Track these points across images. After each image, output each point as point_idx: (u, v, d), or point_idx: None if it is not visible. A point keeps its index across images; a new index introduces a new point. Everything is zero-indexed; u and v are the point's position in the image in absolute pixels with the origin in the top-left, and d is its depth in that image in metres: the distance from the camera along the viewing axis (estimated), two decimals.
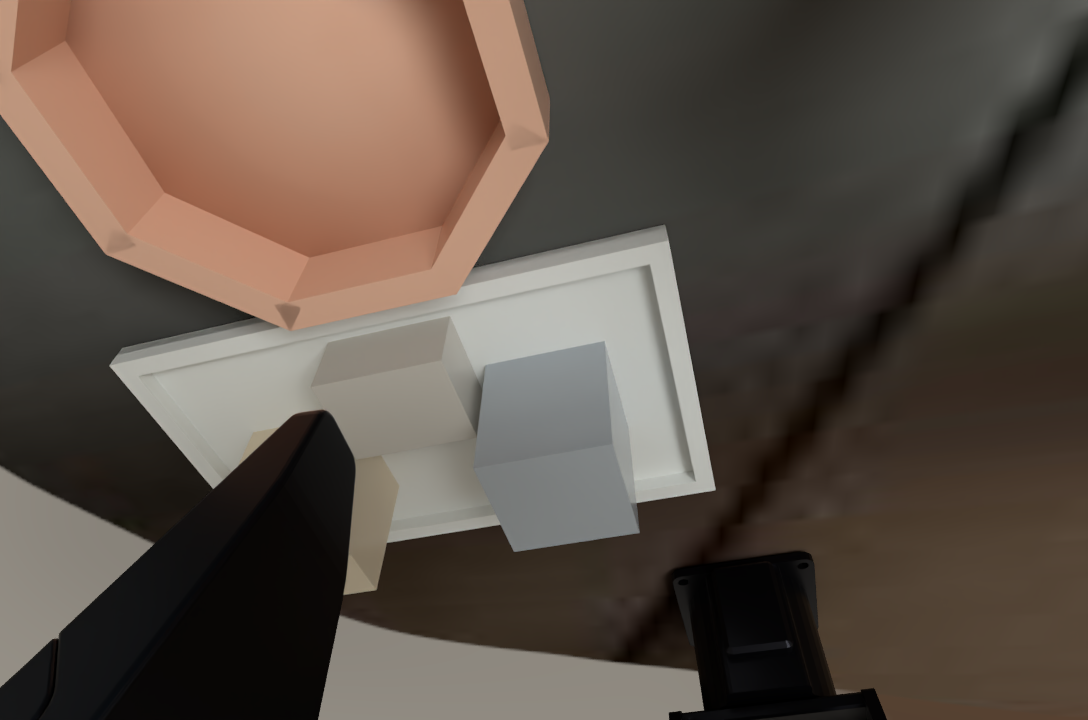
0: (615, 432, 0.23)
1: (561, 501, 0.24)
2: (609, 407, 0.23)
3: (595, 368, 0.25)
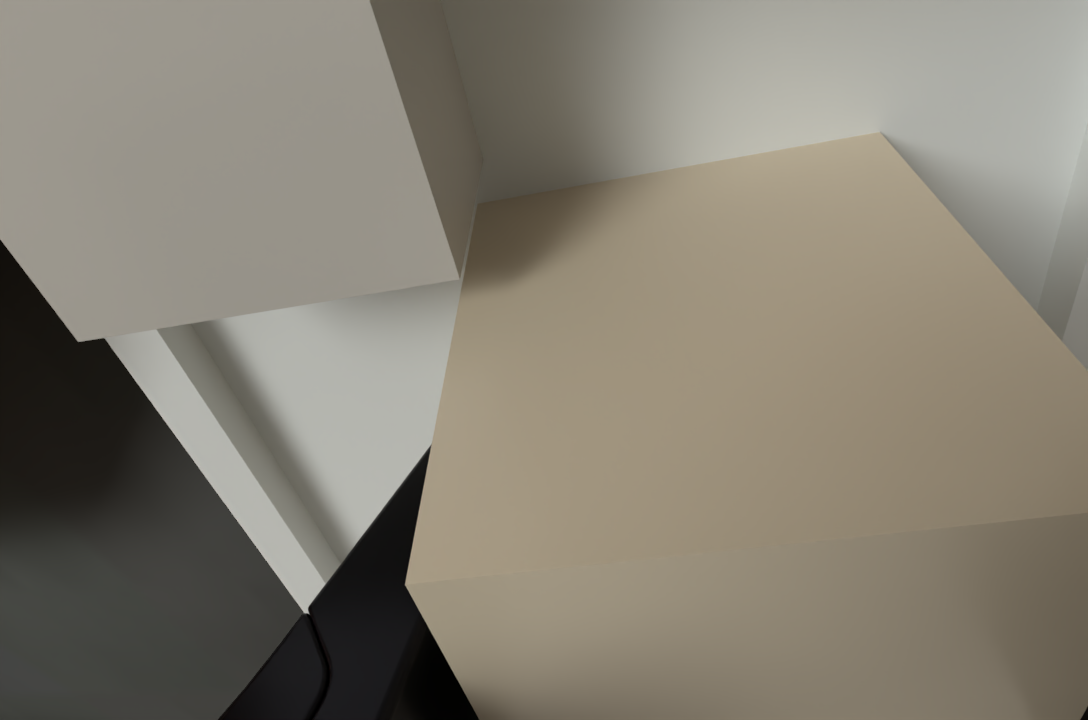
0: None
1: None
2: None
3: None
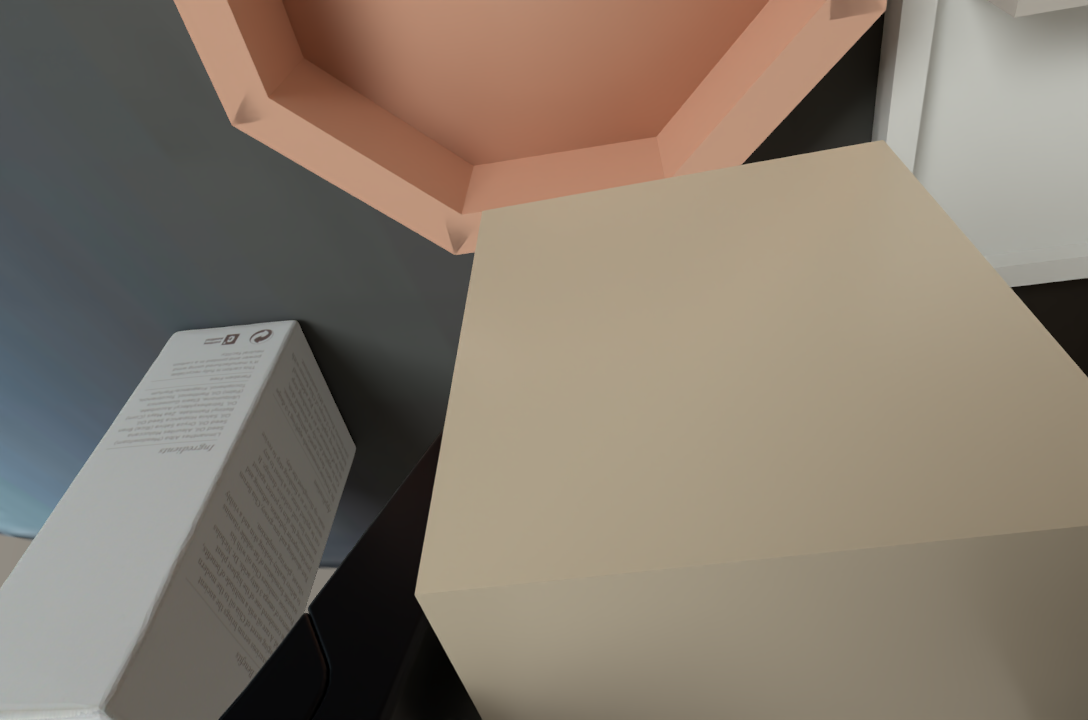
0: None
1: None
2: None
3: None
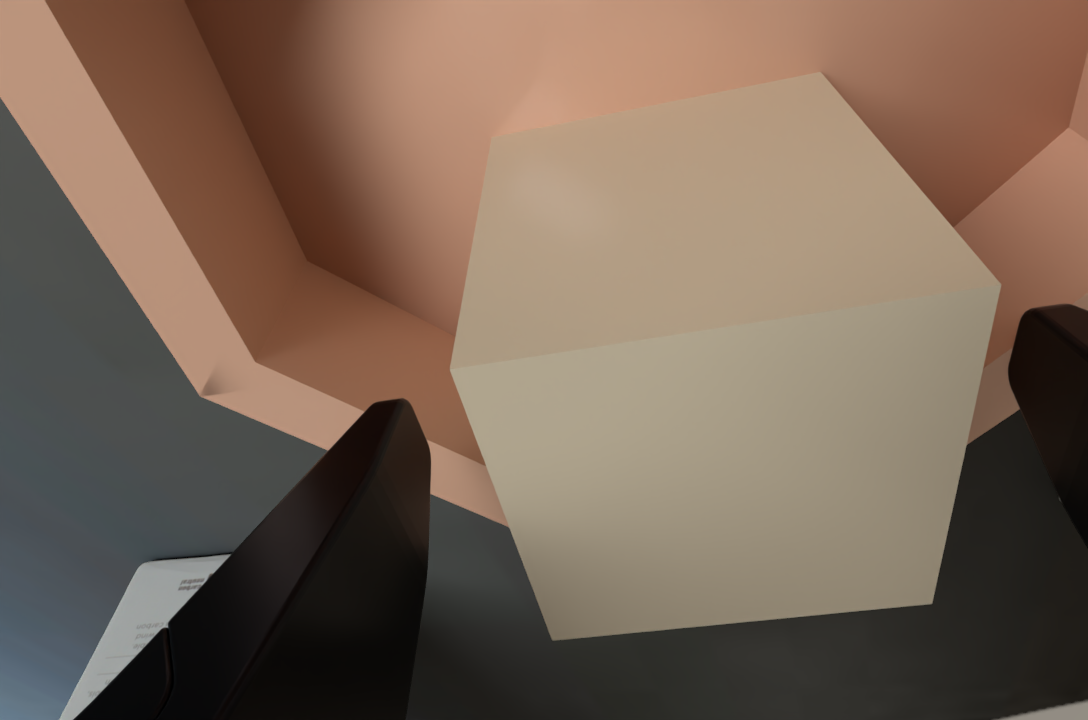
0: None
1: None
2: None
3: None
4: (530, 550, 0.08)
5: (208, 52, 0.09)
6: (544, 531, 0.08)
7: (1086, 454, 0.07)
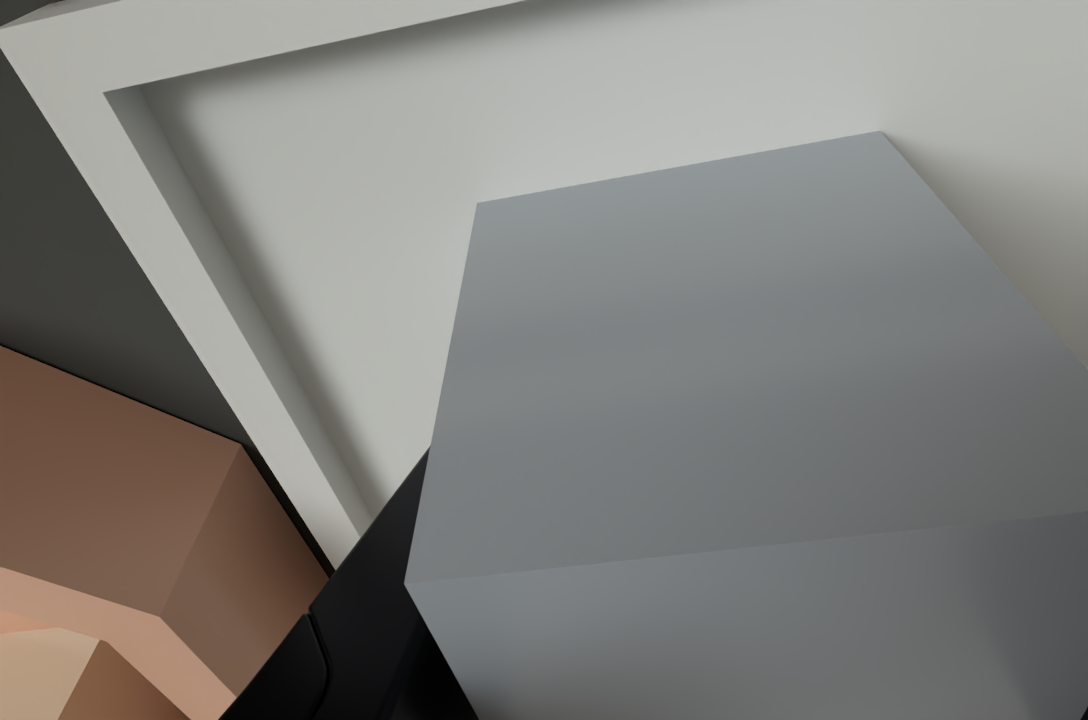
0: (534, 425, 0.05)
1: (775, 717, 0.05)
2: (444, 402, 0.06)
3: None
4: None
5: None
6: None
7: None
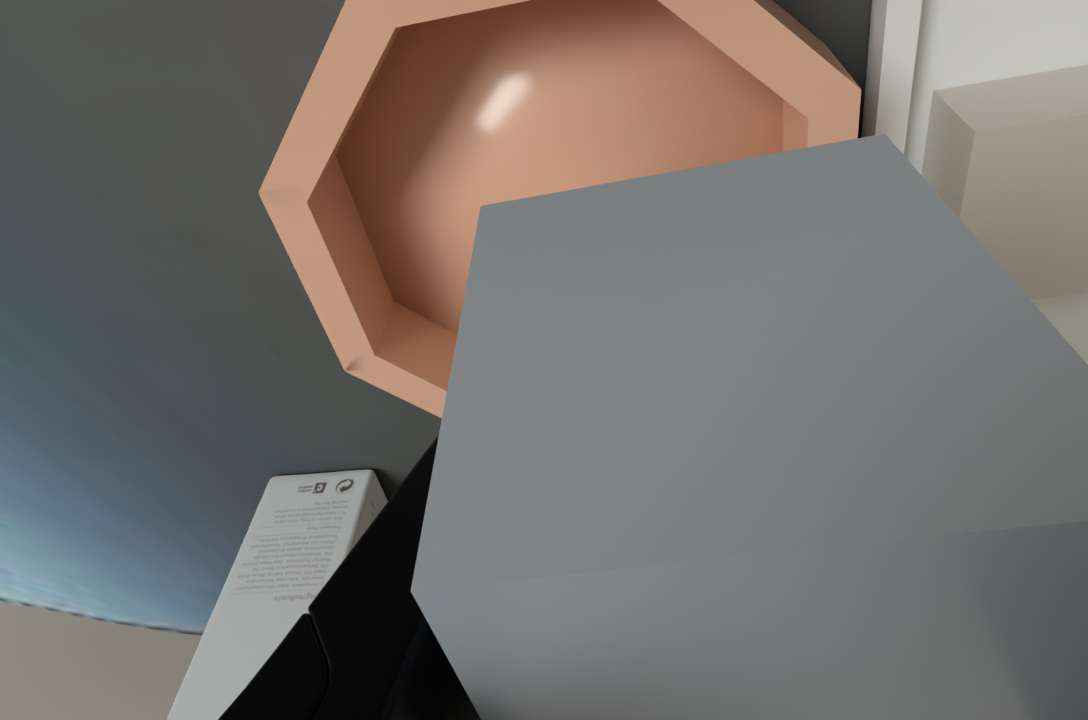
0: (540, 430, 0.05)
1: None
2: (450, 407, 0.06)
3: None
4: None
5: (354, 204, 0.19)
6: None
7: None
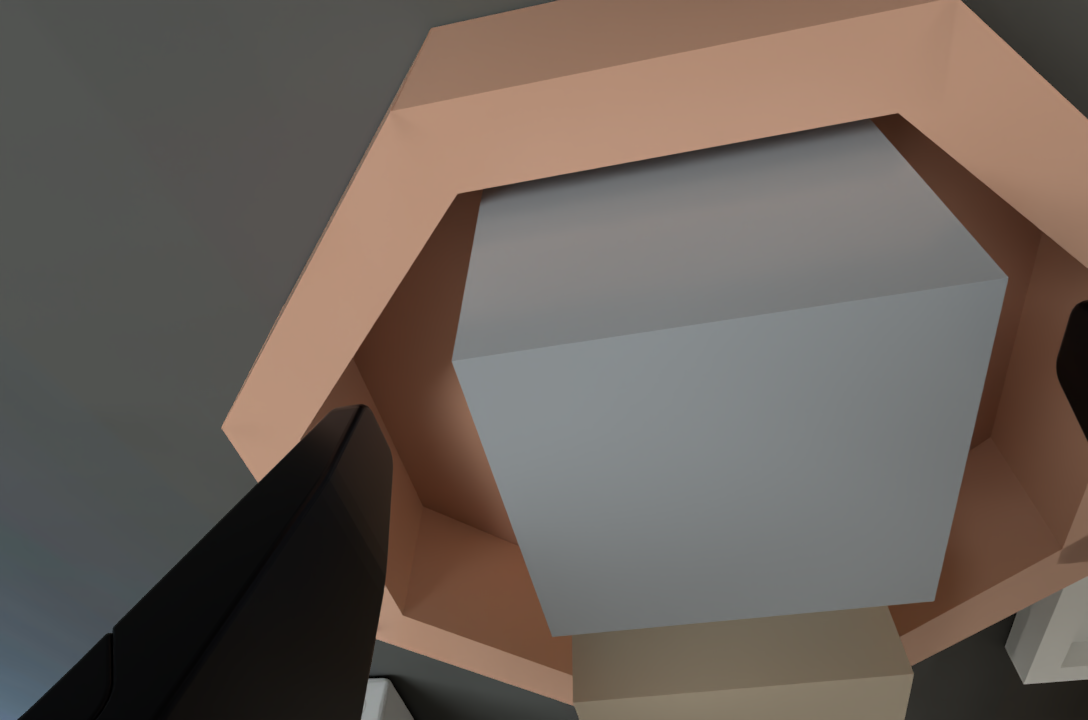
0: (544, 267, 0.07)
1: (728, 493, 0.07)
2: (475, 259, 0.07)
3: None
4: None
5: (369, 394, 0.13)
6: None
7: None
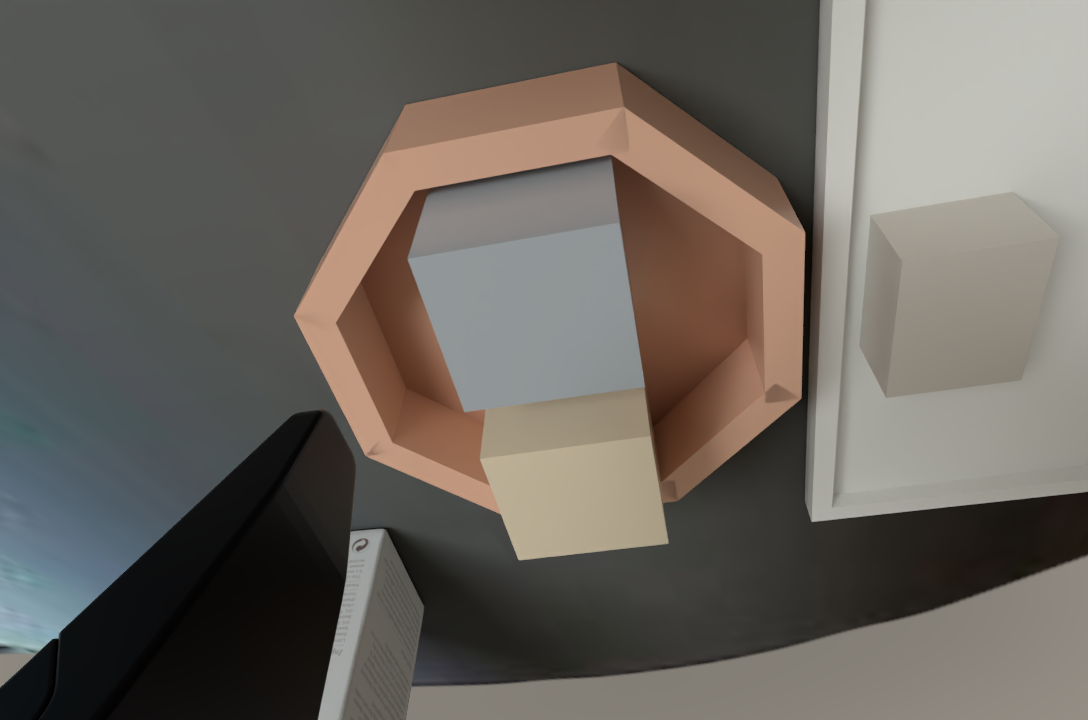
0: (450, 223, 0.16)
1: (533, 324, 0.16)
2: (421, 220, 0.16)
3: None
4: (508, 521, 0.20)
5: (372, 310, 0.22)
6: (513, 513, 0.20)
7: None
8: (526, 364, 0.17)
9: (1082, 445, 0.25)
